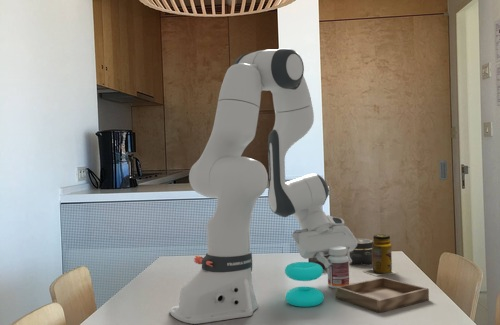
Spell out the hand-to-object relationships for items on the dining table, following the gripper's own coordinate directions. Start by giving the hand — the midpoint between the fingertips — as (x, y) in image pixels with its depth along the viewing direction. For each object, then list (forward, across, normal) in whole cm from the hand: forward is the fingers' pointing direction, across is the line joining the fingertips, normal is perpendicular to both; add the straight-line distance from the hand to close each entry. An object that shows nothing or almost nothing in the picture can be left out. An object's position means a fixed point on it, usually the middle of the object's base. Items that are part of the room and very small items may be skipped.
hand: (339, 264), depth 154 cm
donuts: (+9, -18, 0) cm, 20 cm away
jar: (-10, +28, +19) cm, 35 cm away
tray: (+16, 0, -7) cm, 18 cm away
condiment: (+1, +22, +9) cm, 24 cm away
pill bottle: (+4, 0, +5) cm, 7 cm away
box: (-12, +12, +21) cm, 27 cm away
